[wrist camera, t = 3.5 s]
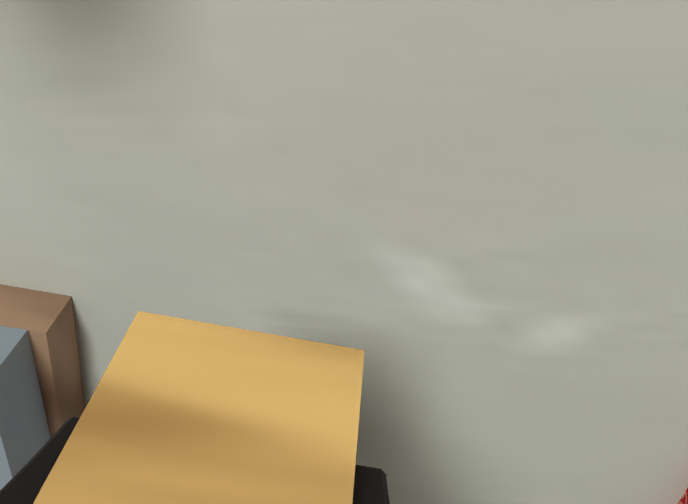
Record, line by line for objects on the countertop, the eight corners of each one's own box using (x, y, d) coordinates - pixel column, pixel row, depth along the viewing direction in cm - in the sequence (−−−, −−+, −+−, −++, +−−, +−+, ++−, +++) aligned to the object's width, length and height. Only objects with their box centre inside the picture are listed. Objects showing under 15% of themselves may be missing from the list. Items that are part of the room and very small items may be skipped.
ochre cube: (331, 486, 13) (306, 705, 10) (143, 455, 13) (56, 664, 10) (364, 350, 11) (346, 573, 8) (138, 311, 11) (24, 519, 8)
